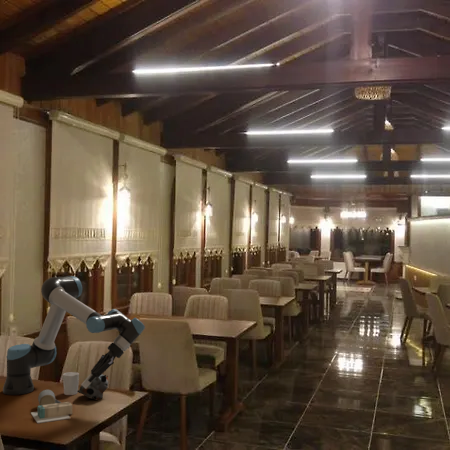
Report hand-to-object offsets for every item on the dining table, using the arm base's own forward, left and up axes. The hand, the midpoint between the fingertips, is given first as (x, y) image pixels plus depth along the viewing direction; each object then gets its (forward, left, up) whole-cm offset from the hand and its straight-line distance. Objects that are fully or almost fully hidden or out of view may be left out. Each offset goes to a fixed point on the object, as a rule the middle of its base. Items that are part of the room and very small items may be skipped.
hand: (83, 386), depth 263 cm
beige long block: (0, -6, -9) cm, 11 cm away
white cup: (-33, +2, -12) cm, 35 cm away
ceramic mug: (-14, -12, -12) cm, 22 cm away
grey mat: (0, -15, -11) cm, 19 cm away
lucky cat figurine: (-21, +10, -12) cm, 26 cm away
